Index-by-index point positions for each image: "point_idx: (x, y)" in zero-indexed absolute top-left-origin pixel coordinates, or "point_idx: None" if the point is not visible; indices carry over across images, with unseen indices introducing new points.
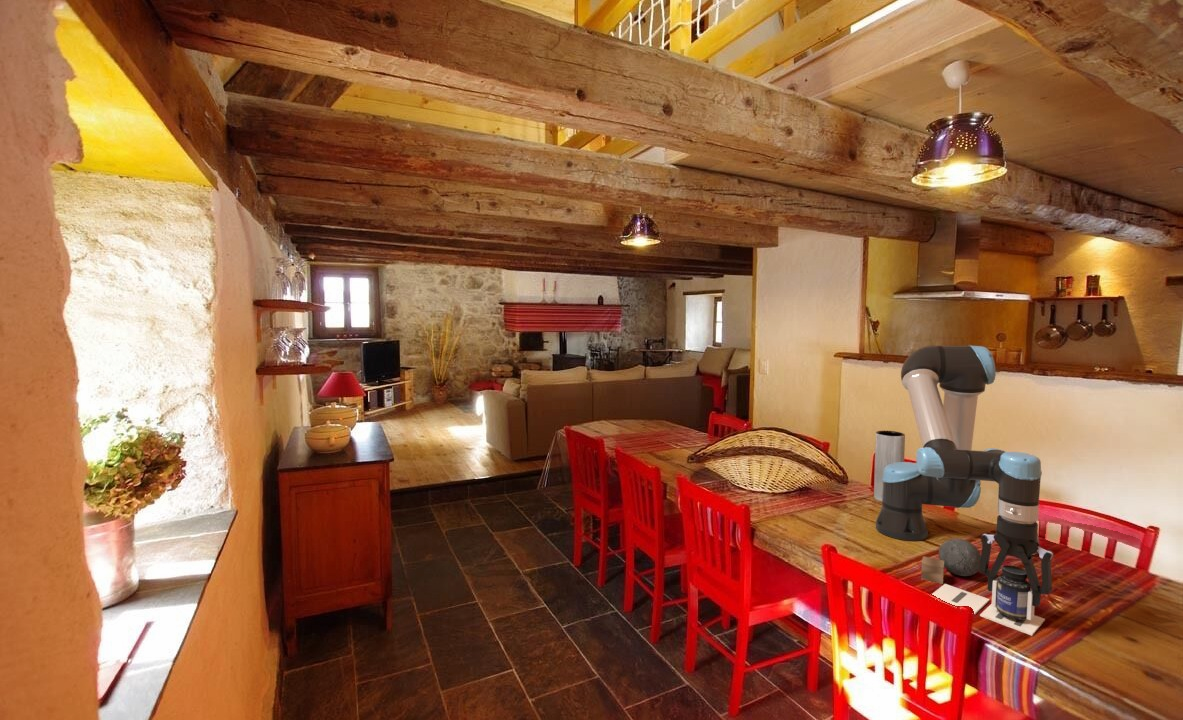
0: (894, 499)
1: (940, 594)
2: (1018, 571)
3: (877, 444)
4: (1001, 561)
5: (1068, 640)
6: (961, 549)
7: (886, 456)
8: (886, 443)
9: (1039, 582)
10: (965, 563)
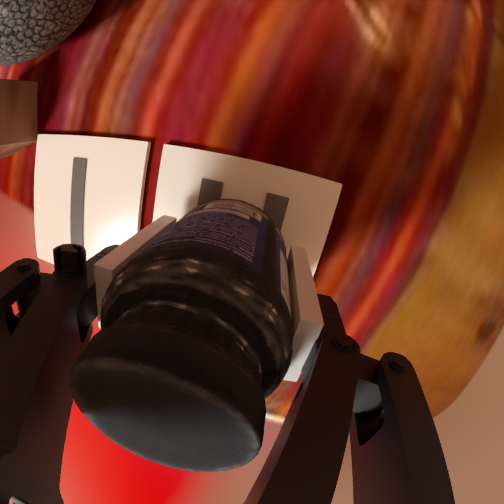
0: None
1: (45, 230)
2: (191, 446)
3: None
4: (58, 456)
5: (387, 291)
6: None
7: None
8: None
9: (355, 383)
10: (28, 42)
